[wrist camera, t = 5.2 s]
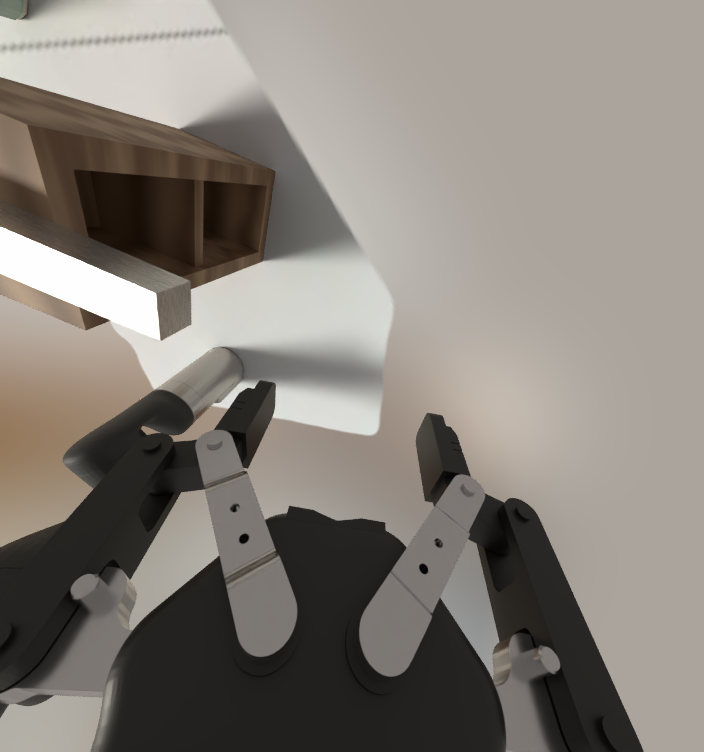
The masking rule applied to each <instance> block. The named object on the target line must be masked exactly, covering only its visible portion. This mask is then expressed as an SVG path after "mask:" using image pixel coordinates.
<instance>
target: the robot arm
mask: <svg viewBox="0 0 704 752" xmlns="http://www.w3.org/2000/svg"><path fill="white" fill-rule="evenodd" d="M242 374H243V366H242V363H241V361H240V360H239V358H238V357H237V356H236V355H235V354H234V353H233V352H231V351H230V350H228V349H225V348H222V347H216V348H213V349H211V350H210V351H208V352H207V353H205V354H204V355H203V356H201V357H200V358H198V359H197V360H196V361H194V362H193V363H191V364H190V365H189V366H187V367H186V368H185V369H183V370H182V371H180V372H179V373H178V374H176V375H175V376H173V377H172V378H171V379H169V380H168V381H166V382H165V383H164V384H162V385H161V386H159V387H158V388H157V389H155V390H154V391H152V392H151V393H150V394H148V395H147V396H145V397H144V398H142V399H141V400H139V401H138V402H136V403H135V404H133V405H132V406H131V407H129V408H128V409H126V410H125V411H123V412H122V413H121V414H119V415H118V416H116V417H114V418H113V419H111V420H110V421H108V422H106V423H105V424H103V425H102V426H100V427H99V428H97V429H95V430H94V431H92V432H90V433H89V434H88V435H86V436H85V437H83V438H82V439H80V440H79V441H78V442H76V443H75V444H74V445H73V446H72V447H71V448H70V449H69V450H68V451H67V452H66V453H65V455H64V457H63V463H64V464H65V466H66V467H68V468H69V469H70V470H71V471H72V472H74V473H75V474H76V475H77V476H78V477H80V478H81V479H82V480H83V481H85V482H86V483H87V484H88V485H90V486H91V487H92V488H93V491H92V492H91V493H90V494H89V495H88V496H87V497H86V499H84V501H83V502H82V503H81V504H80V505H79V506H78V507H77V508H76V510H75V511H74V512H73V513H72V514H71V515H70V516H69V518H68V519H67V520H66V521H64V522H62V523H59V524H57V525H54V526H51V527H49V528H46V529H43V530H41V531H38V532H35V533H33V534H30V535H28V536H25V537H23V538H20V539H18V540H16V541H13V542H11V543H9V544H7V545H5V546H3V547H0V717H1V716H2V714H3V713H4V711H5V710H6V708H7V706H8V705H9V704H18V705H23V706H32V705H36V704H39V703H42V702H44V701H46V700H47V699H49V698H51V697H52V696H54V695H62V696H63V695H64V696H84V697H103V701H102V708H101V714H100V719H99V724H98V728H97V732H96V736H95V739H94V742H93V746H92V749H91V752H643V749H642V747H641V744H640V742H639V739H638V737H637V735H636V733H635V730H634V728H633V726H632V724H631V722H630V720H629V717H628V715H627V713H626V710H625V709H624V706H623V704H622V702H621V699H620V697H619V695H618V693H617V691H616V688H615V686H614V684H613V682H612V679H611V677H610V675H609V673H608V670H607V668H606V666H605V664H604V661H603V659H602V657H601V655H600V653H599V650H598V648H597V646H596V644H595V641H594V639H593V637H592V635H591V633H590V631H589V628H588V626H587V624H586V622H585V619H584V617H583V615H582V613H581V610H580V608H579V606H578V604H577V601H576V599H575V597H574V595H573V592H572V590H571V588H570V586H569V584H568V581H567V579H566V577H565V575H564V573H563V570H562V568H561V566H560V564H559V561H558V559H557V557H556V555H555V552H554V550H553V548H552V546H551V543H550V541H549V539H548V537H547V535H546V532H545V530H544V528H543V526H542V524H541V522H540V519H539V517H538V515H537V514H536V512H535V511H534V510H533V509H532V508H531V507H530V506H529V505H528V504H526V503H525V502H523V501H521V500H519V499H516V498H510V499H508V500H507V501H506V502H505V503H504V502H502V501H499V500H497V499H495V498H493V497H491V496H489V495H487V494H485V493H484V490H483V488H482V487H481V485H480V484H479V483H478V482H477V481H476V480H475V479H473V478H471V476H470V473H469V470H468V467H467V464H466V461H465V458H464V455H463V453H462V449H461V446H460V445H459V444H460V443H459V440H458V437H457V435H456V433H455V432H454V431H453V430H452V428H451V427H448V426H446V425H445V422H444V418H443V416H442V415H436V414H431V413H427V414H426V416H425V418H424V420H423V422H422V424H421V426H420V428H419V431H418V433H417V437H416V447H417V453H418V460H419V466H420V473H421V479H422V485H423V492H424V497H425V501H428V502H433V504H434V508H433V510H432V511H431V513H430V514H429V516H428V517H427V519H426V520H425V521H424V523H423V524H422V526H421V528H420V529H419V530H418V532H417V533H416V535H415V536H414V538H413V539H412V541H411V543H410V544H409V545H408V547H407V548H406V546H405V545H404V544H403V543H402V542H401V541H400V540H399V539H398V538H396V537H395V536H394V535H392V534H390V533H389V532H387V531H385V523H384V522H379V521H373V520H367V519H353V520H342V521H336V520H334V519H331V518H329V517H327V516H325V515H322V514H320V513H318V512H316V511H314V510H310V509H304V508H299V507H292V506H289V509H288V512H287V513H285V514H280V515H275V516H273V517H270V518H268V519H266V520H265V519H264V517H263V514H262V511H261V508H260V506H259V503H258V500H257V497H256V494H255V492H254V489H253V486H252V484H251V481H250V478H249V475H248V473H247V472H246V471H244V469H243V468H248V467H249V465H250V463H251V461H252V459H253V457H254V455H255V453H256V450H257V448H258V446H259V444H260V442H261V440H262V437H263V436H264V433H265V431H266V429H267V427H268V425H269V423H270V421H271V419H272V416H273V413H274V409H275V390H276V385H275V383H273V382H268V381H262V380H260V381H259V382H258V384H257V385H256V387H255V389H251V388H247V389H245V390H244V391H242V392H241V393H239V394H238V396H237V397H236V399H235V400H234V402H233V403H232V405H231V406H230V408H229V409H228V410H227V412H226V413H225V415H224V416H223V418H222V419H221V421H220V422H219V423H218V425H217V426H216V428H215V429H214V430H213V431H209V432H207V433H205V434H203V435H202V436H201V437H199V438H198V439H197V440H192V441H180V442H173V439H172V438H171V437H170V436H169V435H179V434H182V433H183V432H185V431H186V430H187V429H188V428H189V427H190V426H191V425H192V424H193V423H194V422H195V421H196V420H197V419H198V418H199V417H200V416H201V415H202V414H203V413H204V412H205V411H206V410H207V409H208V408H209V407H210V406H211V405H212V404H213V403H220V402H221V401H222V400H223V399H224V398H225V397H226V396H227V395H228V394H229V393H230V392H231V391H232V390H233V389H234V388H235V387H236V386H237V385H238V384H239V383H240V382H241V381H242V380H243V377H242ZM142 426H146V427H149V428H151V429H153V430H156V431H158V432H160V433H155V434H151V435H146V434H145V433H144V432H143V431H142V430H141V427H142ZM202 489H205V492H206V497H207V501H208V506H209V511H210V515H211V520H212V524H213V529H214V533H215V537H216V542H217V547H218V551H219V556H218V557H217V558H216V559H215V560H214V561H212V562H211V563H210V564H209V565H208V566H206V567H205V568H204V569H203V570H201V571H200V572H199V573H198V574H197V575H195V576H194V577H193V578H192V579H190V581H188V582H187V583H186V584H184V585H183V586H182V587H181V588H179V589H178V590H177V591H176V592H175V593H173V594H172V595H171V596H170V597H168V599H166V600H165V601H164V602H162V603H161V604H160V605H159V606H157V607H156V608H155V609H154V610H153V611H151V612H150V613H149V614H148V615H147V616H146V617H145V618H144V619H143V620H142V621H141V622H140V623H139V624H138V625H137V626H136V627H135V629H134V630H133V631H132V630H130V628H129V620H130V615H131V612H132V610H133V607H134V604H135V601H136V595H137V593H136V588H135V586H134V585H133V583H132V582H131V581H130V579H131V578H132V576H133V574H134V572H135V571H136V569H137V567H138V566H139V564H140V562H141V560H142V559H143V557H144V555H145V554H146V552H147V550H148V548H149V547H150V545H151V543H152V542H153V540H154V538H155V536H156V535H157V533H158V531H159V530H160V528H161V526H162V524H163V523H164V521H165V519H166V518H167V516H168V514H169V512H170V511H171V509H172V507H173V506H174V504H175V502H176V500H177V499H178V497H179V495H180V493H181V492H187V491H195V490H202ZM468 539H469V540H471V541H473V542H475V543H477V547H478V551H479V556H480V559H481V564H482V568H483V573H484V577H485V581H486V585H487V590H488V594H489V598H490V602H491V606H492V611H493V615H494V620H495V624H496V628H497V632H498V637H499V641H500V642H499V643H498V644H497V645H496V646H495V647H494V650H493V668H494V669H493V672H494V675H493V680H492V678H491V676H490V674H489V672H488V670H487V668H486V667H485V665H484V663H483V662H482V660H481V659H480V657H479V656H478V654H477V653H476V651H475V650H474V648H473V647H472V645H471V644H470V642H469V641H468V639H467V638H466V636H465V635H464V633H463V632H462V630H461V629H460V627H459V626H458V624H457V623H456V621H455V619H454V618H453V616H452V615H451V613H450V612H449V610H448V609H447V607H446V606H445V604H444V603H443V602H442V600H441V598H440V596H441V594H442V592H443V590H444V588H445V586H446V584H447V582H448V580H449V578H450V575H451V573H452V571H453V569H454V567H455V565H456V563H457V561H458V559H459V557H460V555H461V553H462V551H463V548H464V546H465V544H466V542H467V540H468Z"/></svg>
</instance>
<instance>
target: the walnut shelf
mask: <svg viewBox="0 0 704 752" xmlns="http://www.w3.org/2000/svg"><path fill="white" fill-rule="evenodd" d="M274 176H275V171H273V170H271V169H268V168H266V167H264V166H262V165H259V164H257V163H255V162H252V161H250V160H248V159H246V158H243V157H241V156H239V155H237V154H234V153H232V152H230V151H228V150H225V149H223V148H221V147H219V146H216V145H214V144H212V143H209V142H207V141H205V140H203V139H200V138H198V137H196V136H194V135H191V134H189V133H187V132H185V131H182V130H180V129H177V128H174V127H170V126H167V125H163V124H160V123H157V122H153V121H150V120H146V119H143V118H139V117H136V116H132V115H129V114H125V113H122V112H119V111H115V110H112V109H108V108H105V107H101V106H98V105H94V104H91V103H87V102H84V101H81V100H77V99H74V98H70V97H67V96H63V95H60V94H56V93H53V92H49V91H46V90H42V89H39V88H36V87H32V86H29V85H25V84H22V83H18V82H15V81H11V80H8V79H4V78H1V77H0V199H1V200H3V201H5V202H8V203H10V204H12V205H15V206H17V207H19V208H22V209H24V210H26V211H29V212H31V213H33V214H36V215H38V216H40V217H42V218H45V219H47V220H49V221H52V222H54V223H56V224H59V225H61V226H63V227H66V228H68V229H70V230H73V231H75V232H77V233H80V234H82V235H84V236H87V237H89V238H91V239H94V240H96V241H98V242H101V243H103V244H105V245H108V246H110V247H112V248H115V249H117V250H119V251H122V252H124V253H126V254H129V255H131V256H133V257H136V258H138V259H140V260H143V261H145V262H147V263H150V264H152V265H154V266H156V267H159V268H161V269H163V270H166V271H168V272H170V273H173V274H175V275H177V276H180V277H182V278H184V279H187V280H189V281H191V289H193V288H195V287H198V286H201V285H203V284H206V283H208V282H211V281H213V280H216V279H219V278H221V277H224V276H226V275H229V274H231V273H234V272H236V271H239V270H242V269H244V268H247V267H249V266H252V265H254V264H257V263H260V262H262V261H263V254H264V247H265V240H266V233H267V226H268V219H269V212H270V205H271V198H272V190H273V183H274ZM0 294H1V295H3V296H6V297H8V298H11V299H13V300H15V301H18V302H20V303H23V304H25V305H27V306H29V307H32V308H34V309H36V310H39V311H41V312H44V313H46V314H48V315H51V316H53V317H56V318H58V319H60V320H62V321H65V322H67V323H70V324H72V325H75V326H77V327H79V328H81V329H84V330H88V329H90V328H93V327H95V326H98V325H101V324H103V323H106V322H108V321H111V320H109V319H107V318H105V317H102V316H100V315H98V314H95V313H93V312H91V311H88V310H86V309H83V308H81V307H79V306H76V305H74V304H72V303H69V302H67V301H65V300H62V299H60V298H57V297H55V296H53V295H50V294H48V293H46V292H43V291H41V290H39V289H36V288H34V287H32V286H29V285H27V284H24V283H22V282H20V281H17V280H15V279H13V278H10V277H8V276H6V275H3V274H1V273H0Z"/></svg>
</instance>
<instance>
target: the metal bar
mask: <svg viewBox="0 0 704 752" xmlns="http://www.w3.org/2000/svg"><path fill="white" fill-rule="evenodd" d="M0 273H1V274H3V275H6V276H8V277H10V278H13V279H15V280H17V281H20V282H22V283H24V284H27V285H29V286H32V287H34V288H36V289H39V290H41V291H43V292H46V293H48V294H50V295H53V296H55V297H57V298H60V299H62V300H65V301H67V302H69V303H72V304H74V305H76V306H79V307H81V308H83V309H86V310H88V311H91V312H93V313H95V314H98V315H100V316H102V317H105V318H107V319H109V320H112V321H114V322H116V323H119V324H121V325H124V326H126V327H128V328H131V329H133V330H135V331H138V332H140V333H142V334H145V335H147V336H150V337H152V338H154V339H157V340H159V341H162V340H163V339H165V338H167V337H169V336H171V335H173V334H174V333H176V332H178V331H180V330H182V329H184V328H185V327H187V326H189V325H191V281H189V280H187V279H184V278H182V277H180V276H177V275H175V274H173V273H170V272H168V271H166V270H163V269H161V268H159V267H156V266H154V265H152V264H150V263H147V262H145V261H143V260H140V259H138V258H136V257H133V256H131V255H129V254H126V253H124V252H122V251H119V250H117V249H115V248H112V247H110V246H108V245H105V244H103V243H101V242H98V241H96V240H94V239H91V238H89V237H87V236H84V235H82V234H80V233H77V232H75V231H73V230H70V229H68V228H66V227H63V226H61V225H59V224H56V223H54V222H52V221H49V220H47V219H45V218H42V217H40V216H38V215H36V214H33V213H31V212H29V211H26V210H24V209H22V208H19V207H17V206H15V205H12V204H10V203H8V202H5V201H3V200H1V199H0Z"/></svg>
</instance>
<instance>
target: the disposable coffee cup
mask: <svg viewBox="0 0 704 752" xmlns="http://www.w3.org/2000/svg"><path fill="white" fill-rule="evenodd" d="M27 6H28V0H0V16H3V17H6V18H10V19H13V20H16V19H20V20H21V19H22V18H23V17H24V16H25V15H26V14H27Z"/></svg>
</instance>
